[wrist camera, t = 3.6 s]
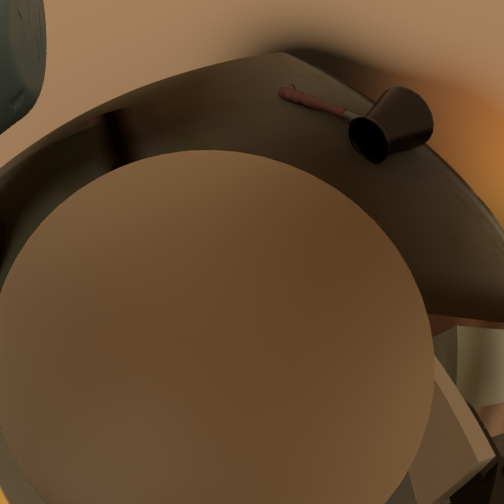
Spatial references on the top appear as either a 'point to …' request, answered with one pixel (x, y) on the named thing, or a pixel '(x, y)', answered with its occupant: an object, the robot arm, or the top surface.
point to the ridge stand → (473, 363)
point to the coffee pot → (379, 121)
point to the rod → (213, 341)
